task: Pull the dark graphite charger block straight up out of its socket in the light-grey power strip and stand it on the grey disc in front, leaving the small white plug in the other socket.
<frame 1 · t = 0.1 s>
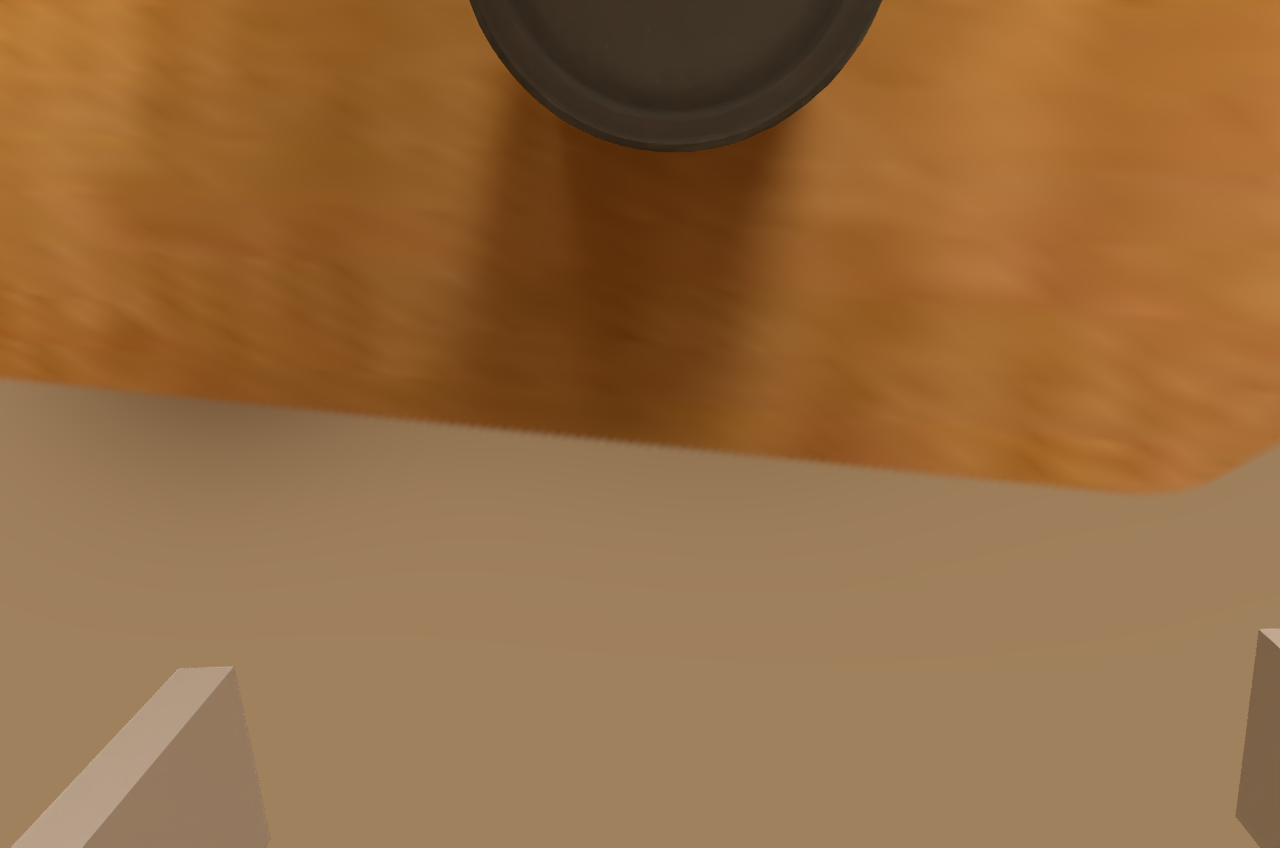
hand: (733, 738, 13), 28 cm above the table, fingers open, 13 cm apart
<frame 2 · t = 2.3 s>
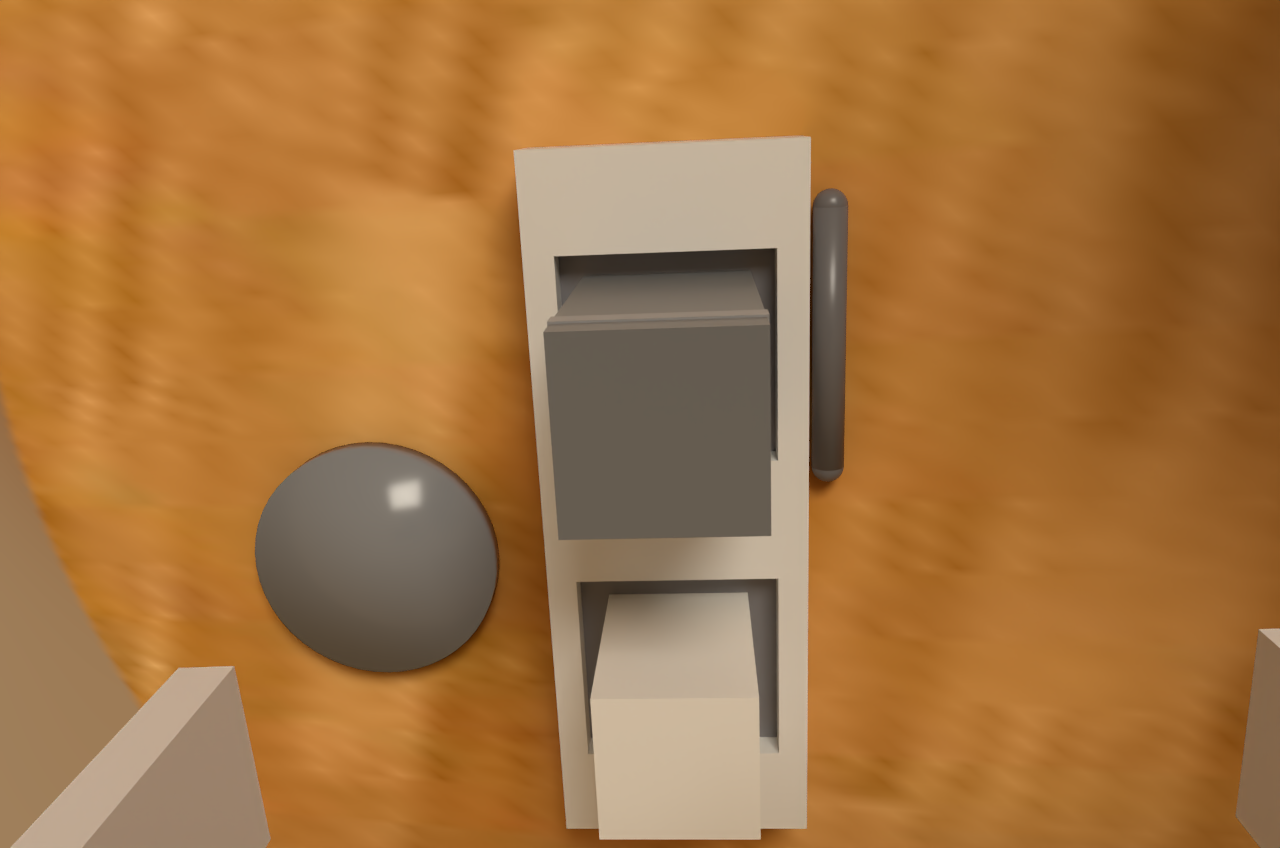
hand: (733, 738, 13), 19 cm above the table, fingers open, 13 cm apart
white plug: (680, 654, 32), point 2 cm above the table, touching strip
charger: (669, 353, 29), point 2 cm above the table, touching strip
strip: (676, 493, 32), on the table
grey disc: (381, 554, 34), on the table
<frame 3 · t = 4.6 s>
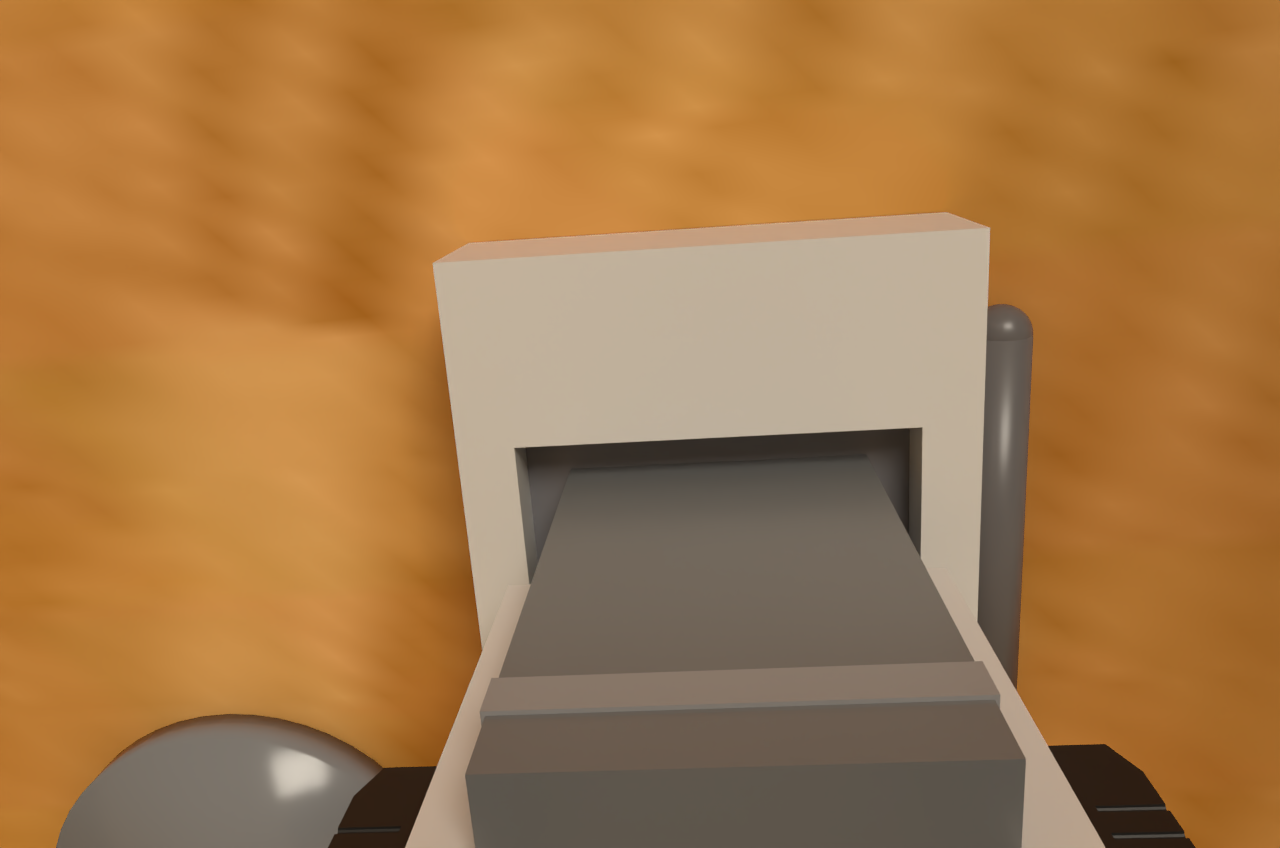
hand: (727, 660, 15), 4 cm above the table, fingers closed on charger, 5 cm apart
charger: (723, 595, 17), point 2 cm above the table, touching gripper, strip
strip: (731, 785, 20), on the table
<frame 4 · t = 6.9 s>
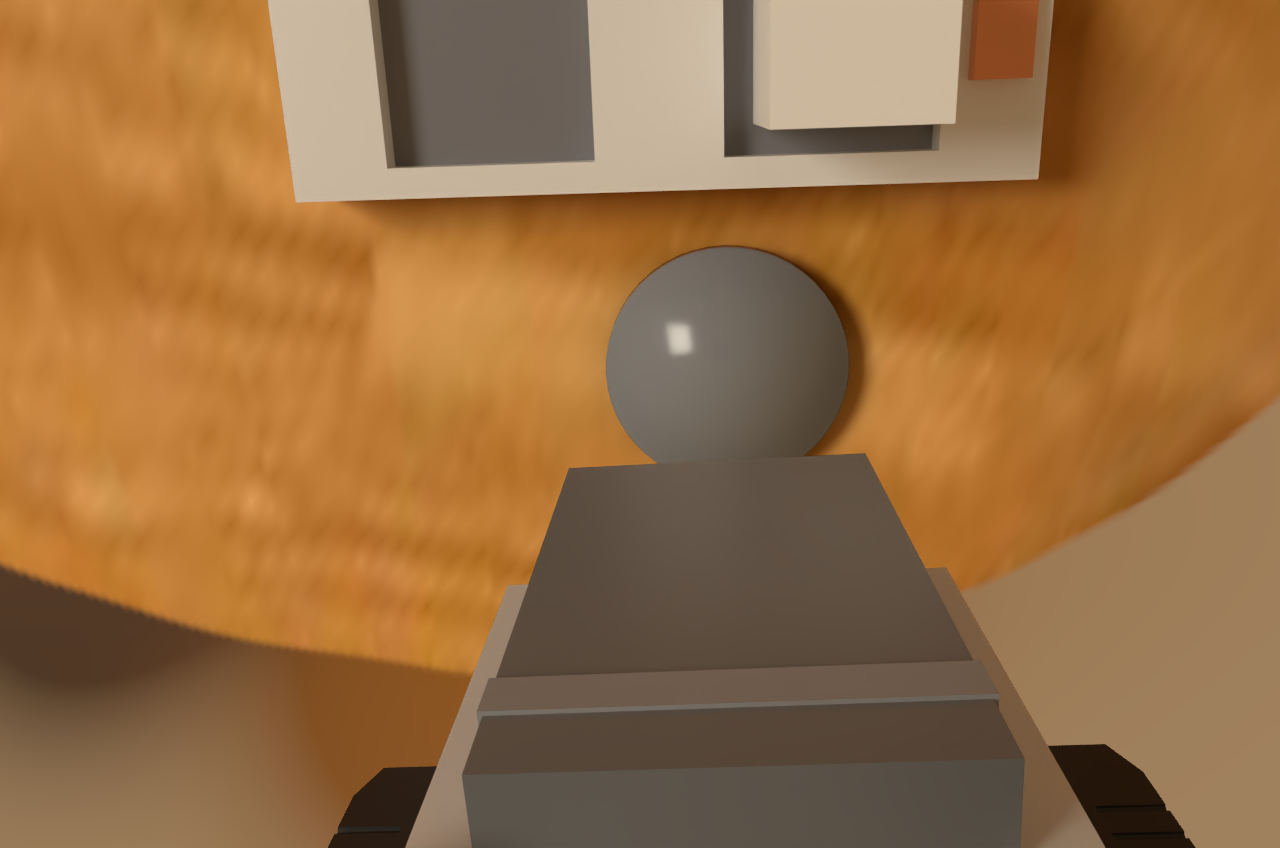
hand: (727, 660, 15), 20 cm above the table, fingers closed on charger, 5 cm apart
white plug: (829, 41, 29), point 2 cm above the table, touching strip
charger: (722, 594, 17), point 17 cm above the table, touching gripper
strip: (658, 50, 31), on the table
grey disc: (725, 364, 34), on the table
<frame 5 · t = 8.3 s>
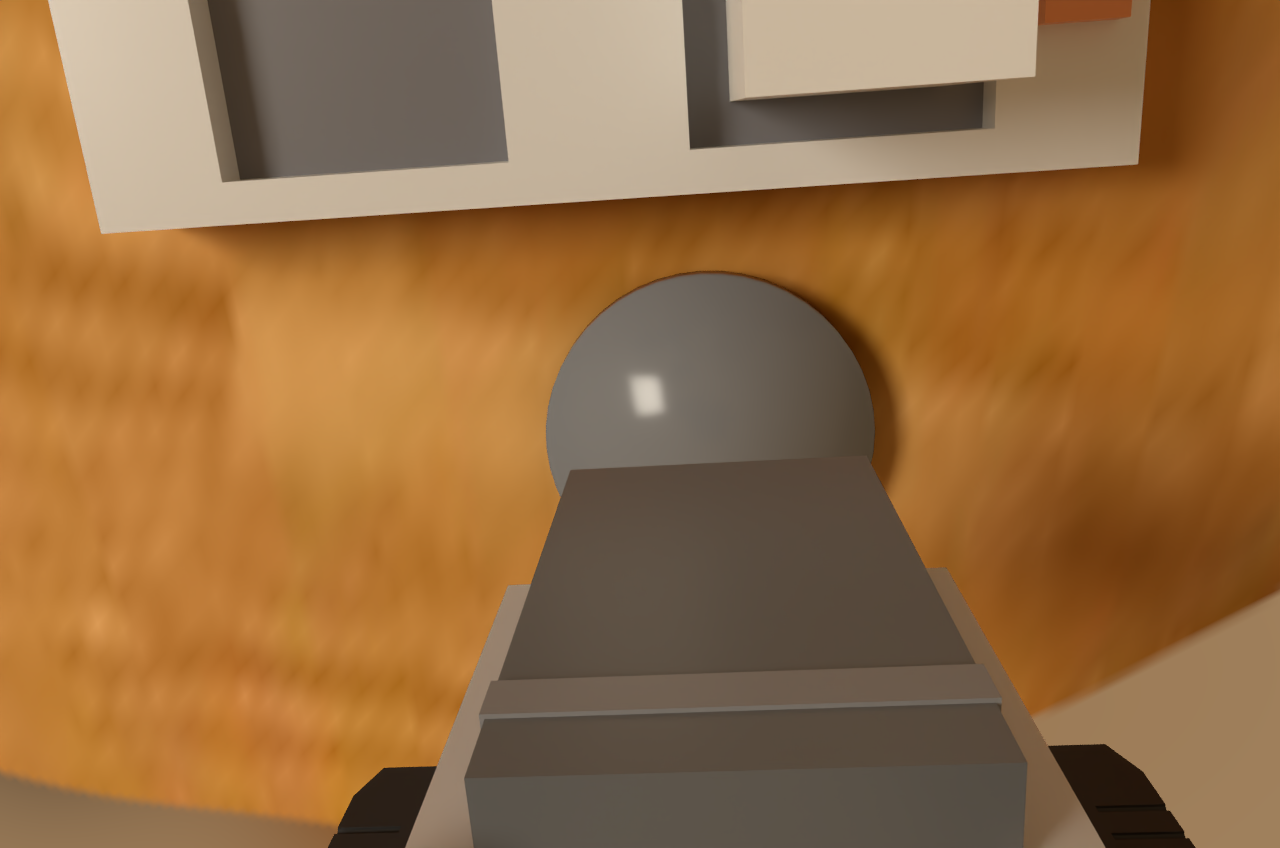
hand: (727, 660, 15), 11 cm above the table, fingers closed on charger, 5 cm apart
charger: (723, 596, 17), point 9 cm above the table, touching gripper
strip: (597, 8, 22), on the table
grey disc: (708, 429, 25), on the table
when the fingers open (5 cm above the table, at t = 9.5 s): charger drops 2 cm, resting on grey disc.
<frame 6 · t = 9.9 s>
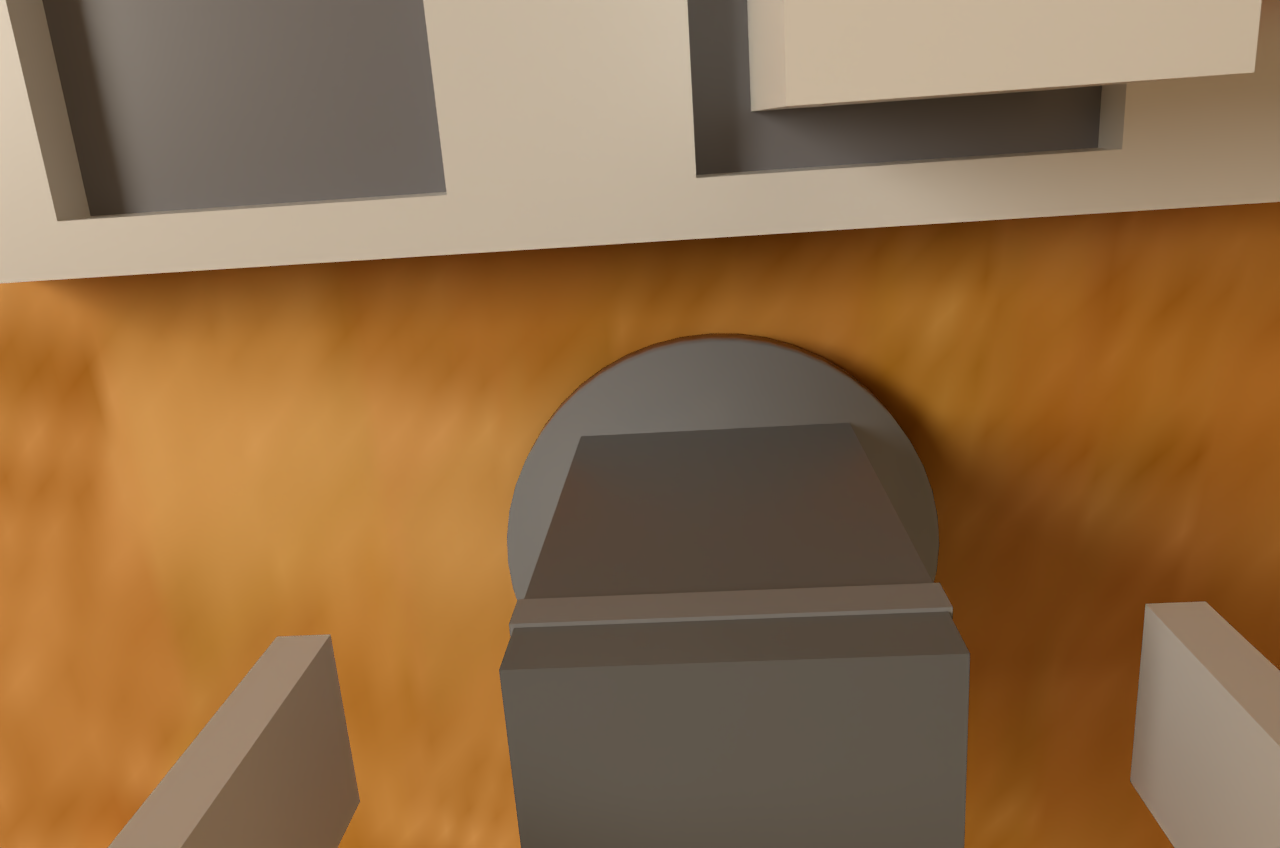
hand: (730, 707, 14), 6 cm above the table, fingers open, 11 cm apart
charger: (720, 552, 18), point 1 cm above the table, touching grey disc
grey disc: (719, 536, 19), on the table
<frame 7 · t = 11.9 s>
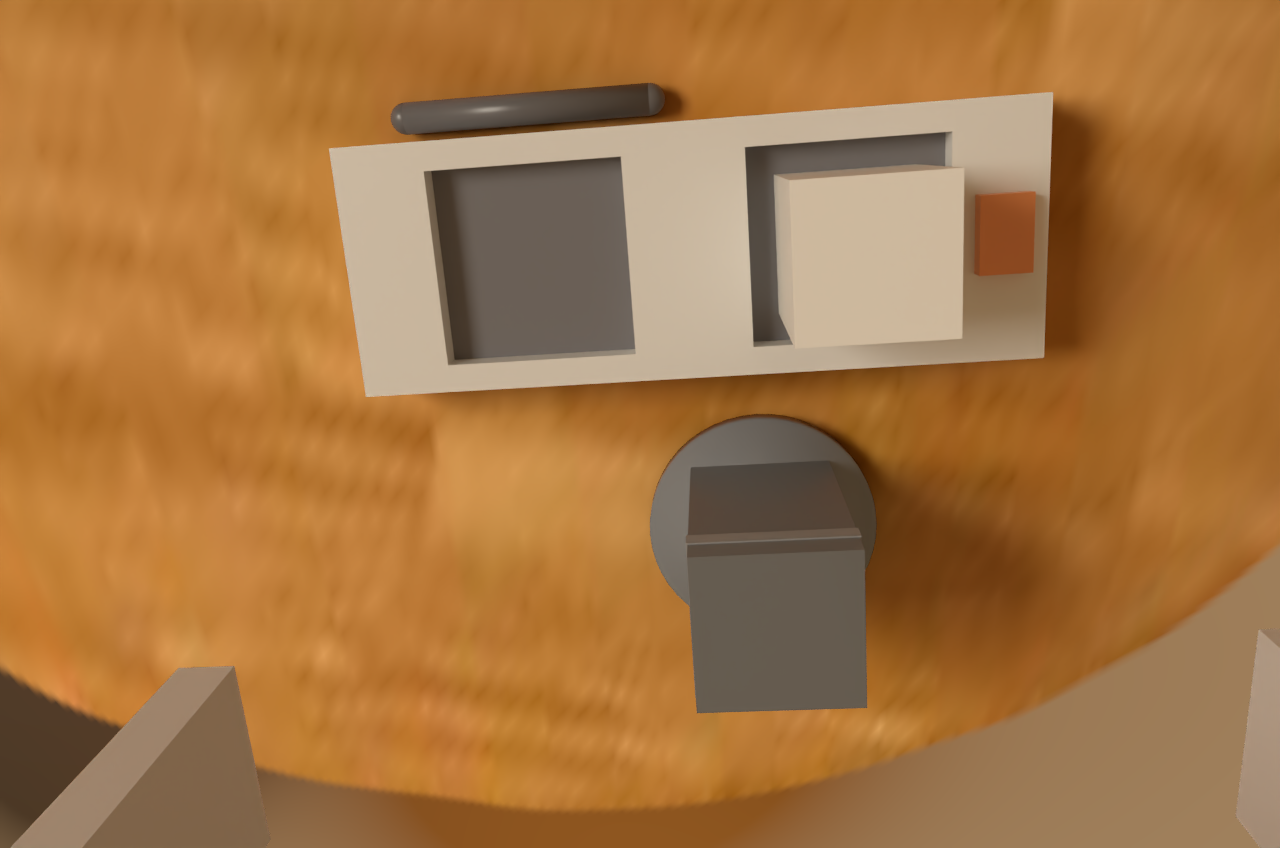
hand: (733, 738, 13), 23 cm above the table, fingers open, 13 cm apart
white plug: (845, 240, 32), point 2 cm above the table, touching strip
charger: (762, 528, 35), point 1 cm above the table, touching grey disc
strip: (689, 246, 34), on the table
grey disc: (761, 520, 36), on the table
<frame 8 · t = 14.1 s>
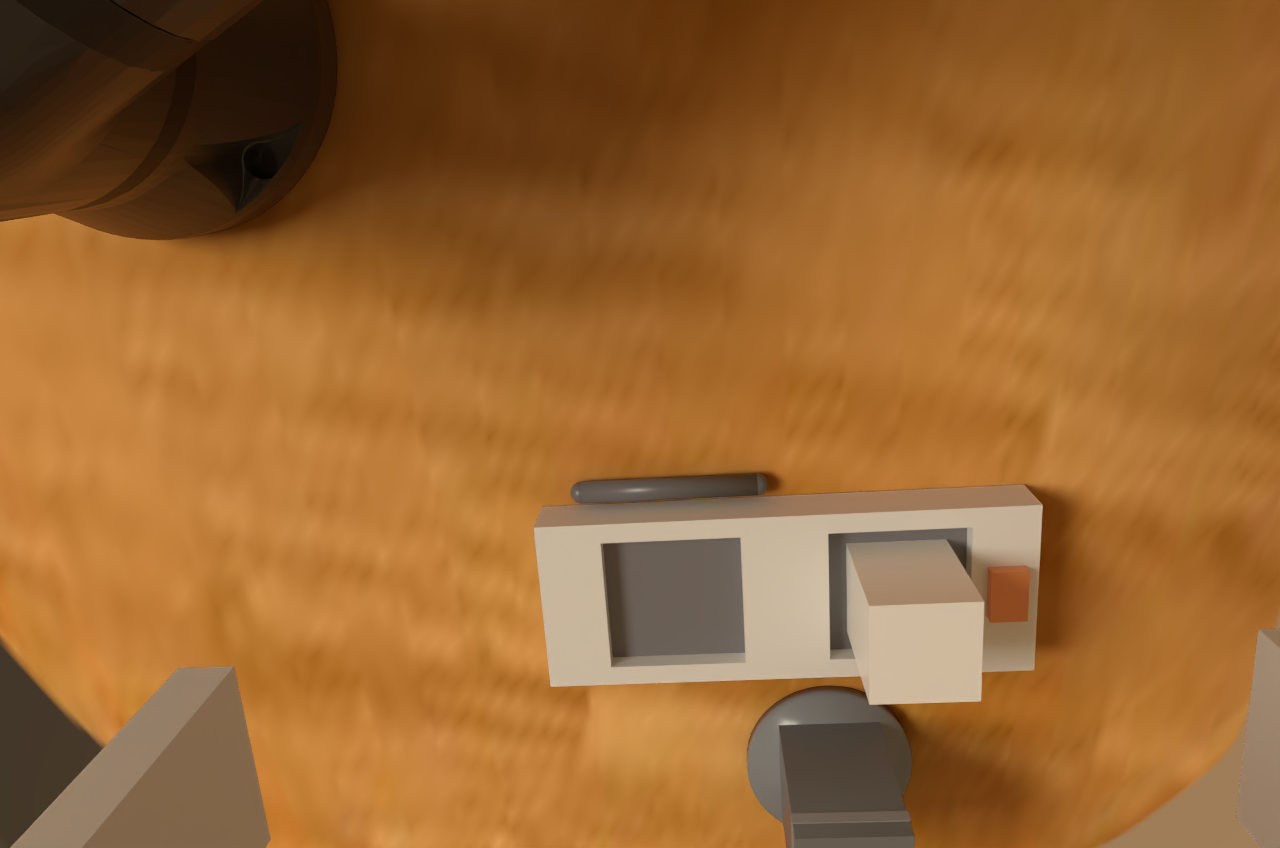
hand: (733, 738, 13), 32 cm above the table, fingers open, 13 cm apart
white plug: (895, 586, 45), point 2 cm above the table, touching strip
charger: (829, 766, 49), point 1 cm above the table, touching grey disc
strip: (781, 575, 47), on the table
grey disc: (827, 756, 50), on the table
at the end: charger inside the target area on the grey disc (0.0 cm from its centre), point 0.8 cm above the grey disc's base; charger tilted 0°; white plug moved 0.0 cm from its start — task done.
